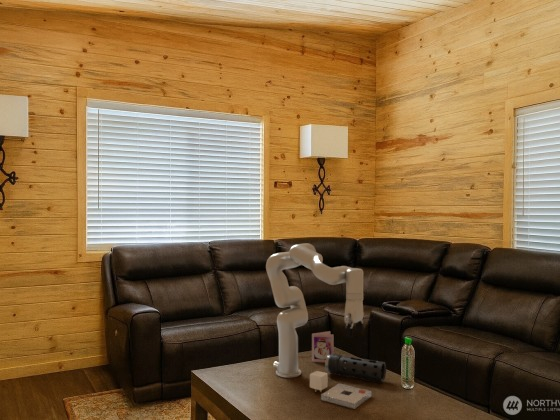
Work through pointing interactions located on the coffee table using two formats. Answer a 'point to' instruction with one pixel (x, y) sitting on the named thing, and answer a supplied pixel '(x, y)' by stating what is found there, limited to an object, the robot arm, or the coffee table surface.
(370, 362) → the muzzle brake
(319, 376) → the plug
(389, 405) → the coffee table surface
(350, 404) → the socket
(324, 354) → the greeting card
